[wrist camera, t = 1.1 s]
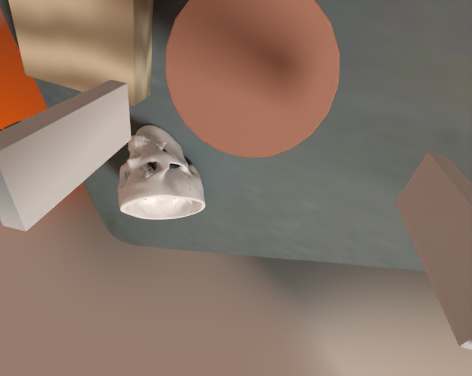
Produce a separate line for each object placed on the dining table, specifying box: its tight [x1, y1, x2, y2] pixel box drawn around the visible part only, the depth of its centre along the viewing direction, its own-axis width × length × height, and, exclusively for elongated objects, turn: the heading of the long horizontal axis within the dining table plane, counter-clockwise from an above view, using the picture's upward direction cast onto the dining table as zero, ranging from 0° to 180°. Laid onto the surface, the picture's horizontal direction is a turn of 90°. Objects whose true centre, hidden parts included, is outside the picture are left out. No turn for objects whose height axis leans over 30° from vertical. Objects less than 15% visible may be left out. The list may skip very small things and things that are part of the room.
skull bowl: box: [118, 125, 205, 219], centre depth 42 cm, size 10×14×12 cm
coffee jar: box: [165, 0, 340, 158], centre depth 24 cm, size 11×11×18 cm
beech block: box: [9, 0, 153, 106], centre depth 32 cm, size 14×14×5 cm
